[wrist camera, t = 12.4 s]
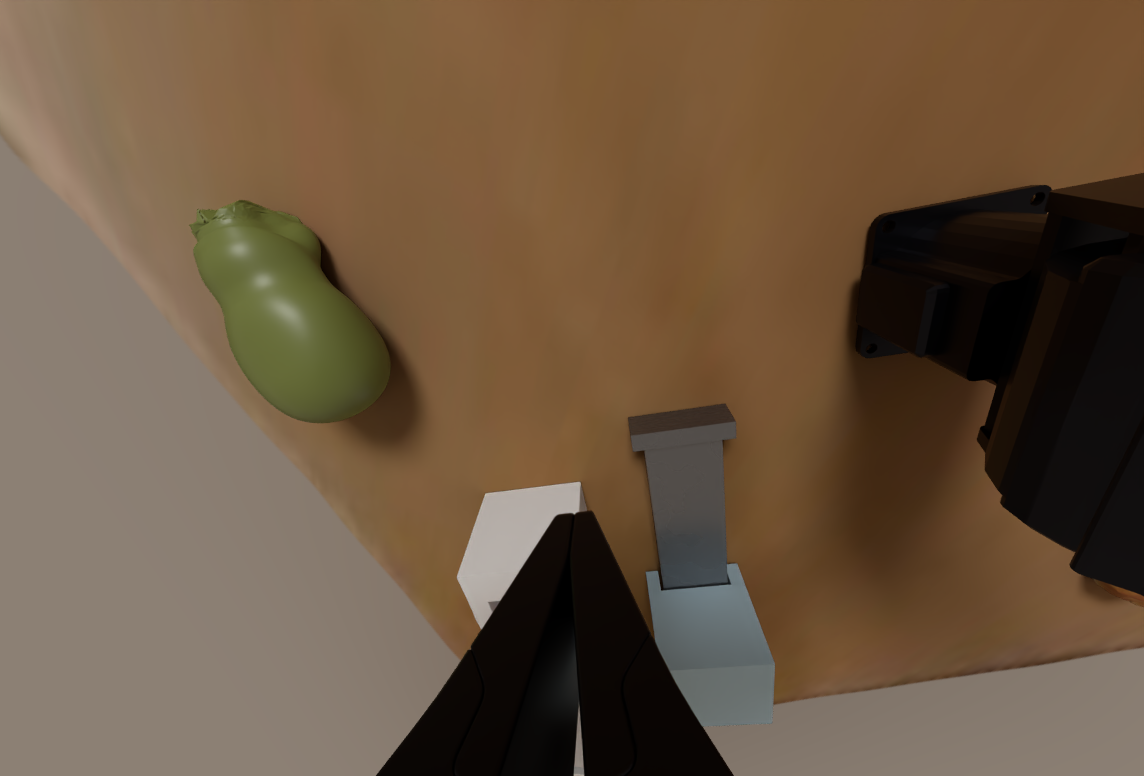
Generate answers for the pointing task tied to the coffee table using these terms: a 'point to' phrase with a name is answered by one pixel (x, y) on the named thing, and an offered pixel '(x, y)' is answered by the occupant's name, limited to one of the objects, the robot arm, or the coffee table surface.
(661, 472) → the rail
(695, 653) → the block
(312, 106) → the coffee table surface
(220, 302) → the green eggplant
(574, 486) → the cabinet
